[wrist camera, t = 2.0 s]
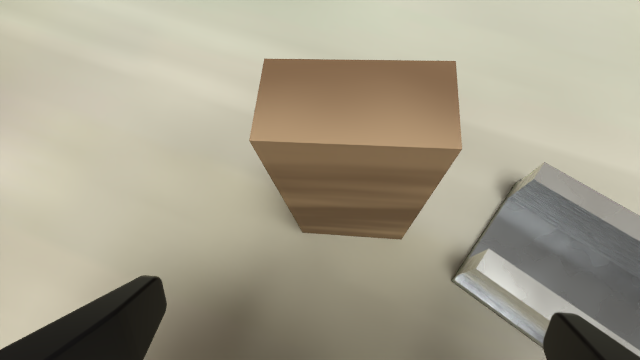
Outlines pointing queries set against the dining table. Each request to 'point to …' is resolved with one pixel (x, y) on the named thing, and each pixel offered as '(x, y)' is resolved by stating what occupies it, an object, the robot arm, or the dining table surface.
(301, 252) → the dining table surface
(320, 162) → the door panel
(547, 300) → the door track
